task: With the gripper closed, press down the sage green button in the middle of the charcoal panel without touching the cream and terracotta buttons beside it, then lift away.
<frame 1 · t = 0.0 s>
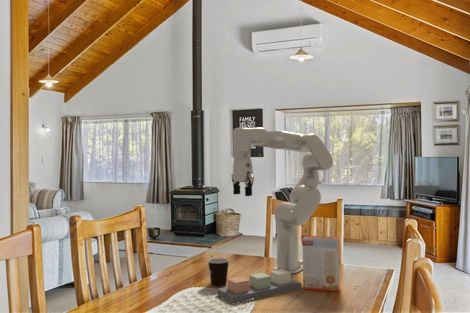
hand: (242, 195, 191), 37 cm above the table, tool pointing down, fingers open, 9 cm apart
cream button: (280, 277, 178), point 4 cm above the table, slide at 0.0 cm
sage button: (260, 281, 173), point 4 cm above the table, slide at 0.0 cm
coffee mug: (219, 283, 185), on the table
terracotta button: (238, 286, 167), point 4 cm above the table, slide at 0.0 cm
button panel: (260, 291, 173), on the table
cracker box: (321, 289, 176), on the table
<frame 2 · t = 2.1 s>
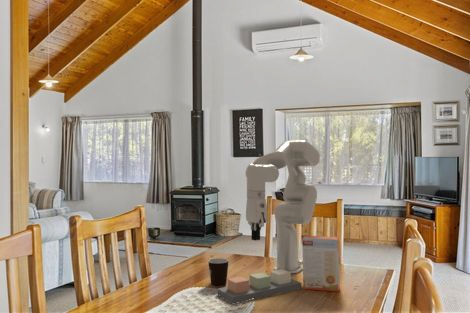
hand: (255, 239, 178), 20 cm above the table, tool pointing down, fingers closed
nothing on the table moved.
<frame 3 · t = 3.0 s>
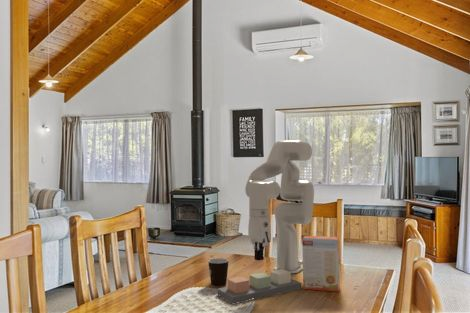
hand: (259, 259, 172), 13 cm above the table, tool pointing down, fingers closed
nothing on the table moved.
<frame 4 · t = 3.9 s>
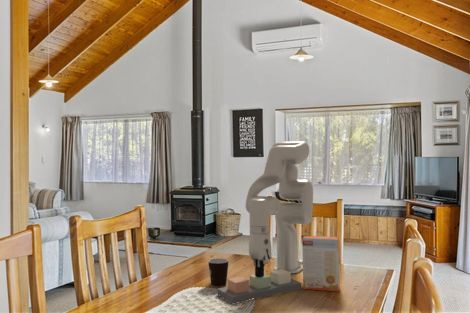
hand: (259, 276, 172), 6 cm above the table, tool pointing down, fingers closed
sage button: (260, 282, 173), point 4 cm above the table, slide at 0.2 cm, touching gripper
everything else where it was.
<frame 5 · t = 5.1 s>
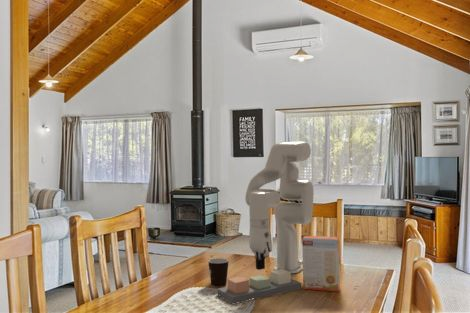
hand: (260, 268, 173), 9 cm above the table, tool pointing down, fingers closed
sage button: (260, 284, 173), point 3 cm above the table, slide at 1.0 cm
everything else where it was.
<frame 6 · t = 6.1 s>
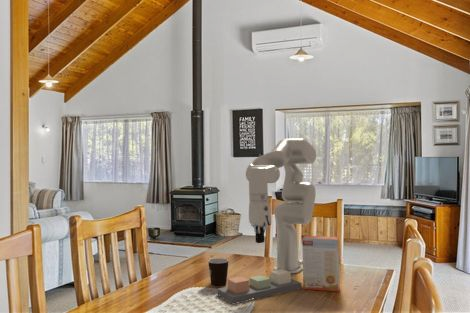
hand: (260, 242, 177), 19 cm above the table, tool pointing down, fingers closed
nothing on the table moved.
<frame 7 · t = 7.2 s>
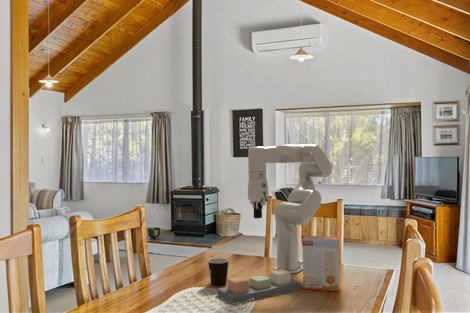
hand: (257, 217, 188), 27 cm above the table, tool pointing down, fingers closed
nothing on the table moved.
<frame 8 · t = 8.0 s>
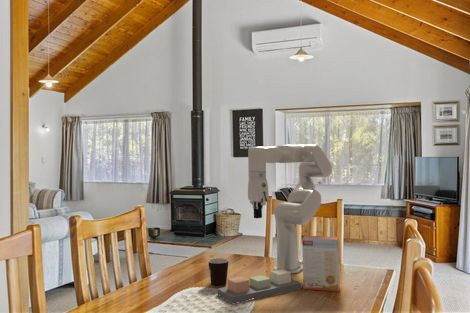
hand: (257, 217, 188), 27 cm above the table, tool pointing down, fingers closed
nothing on the table moved.
at the end: sage button slide at 1.0 cm; cream button slide at 0.0 cm; terracotta button slide at 0.0 cm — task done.
